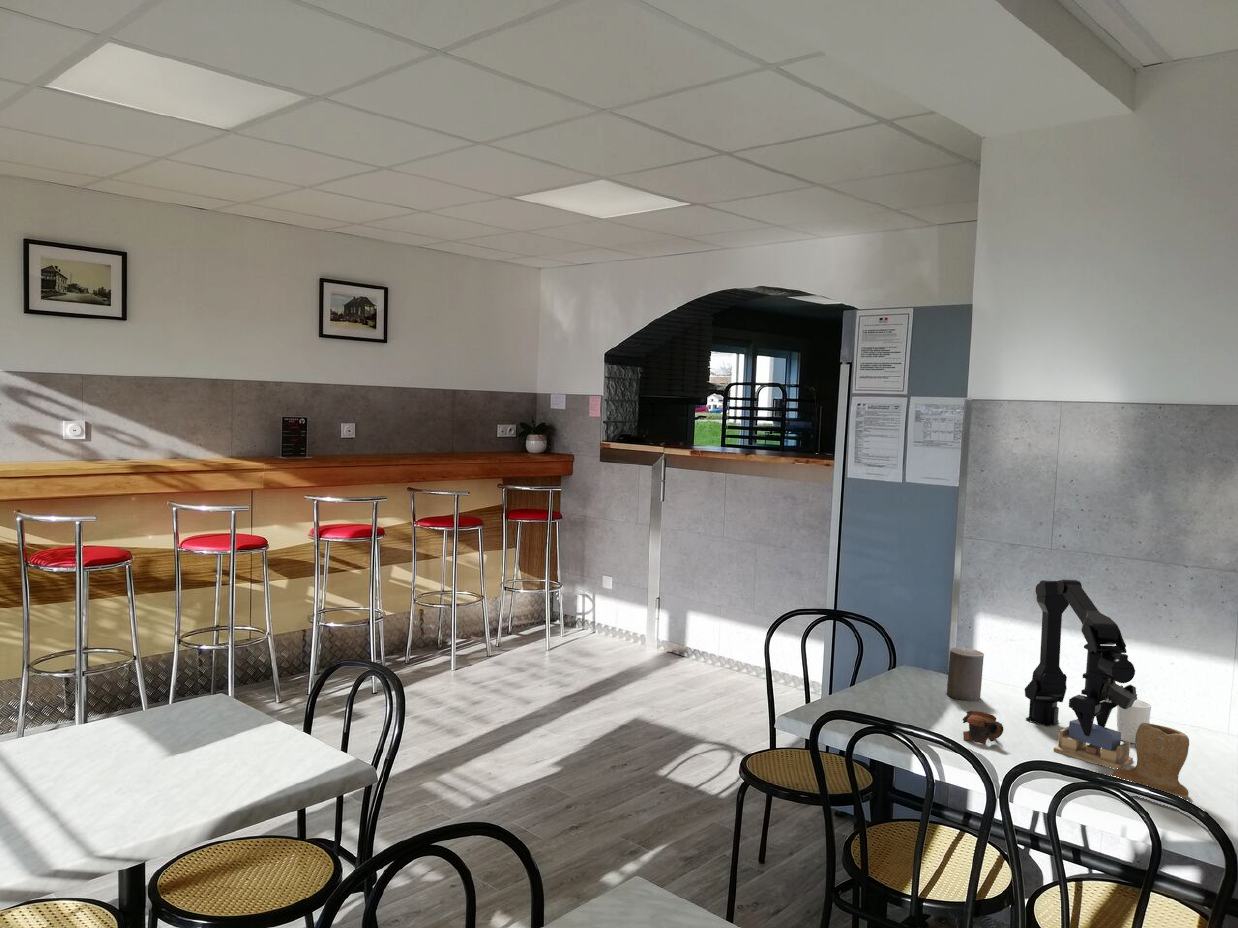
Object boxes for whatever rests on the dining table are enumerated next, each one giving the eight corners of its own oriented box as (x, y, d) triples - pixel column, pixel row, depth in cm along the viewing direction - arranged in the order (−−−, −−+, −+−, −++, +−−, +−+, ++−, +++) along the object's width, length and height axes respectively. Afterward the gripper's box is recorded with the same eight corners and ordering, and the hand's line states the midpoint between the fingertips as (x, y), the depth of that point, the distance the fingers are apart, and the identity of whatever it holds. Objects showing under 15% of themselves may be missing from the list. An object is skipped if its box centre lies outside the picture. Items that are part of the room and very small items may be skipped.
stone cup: (1190, 790, 212) (1195, 726, 211) (1186, 807, 202) (1191, 740, 201) (1116, 773, 221) (1121, 711, 220) (1108, 788, 211) (1113, 724, 210)
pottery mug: (951, 738, 242) (956, 707, 245) (974, 750, 246) (978, 719, 249) (991, 741, 232) (995, 709, 235) (1014, 753, 236) (1018, 721, 239)
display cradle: (1116, 769, 223) (1117, 749, 222) (1053, 750, 234) (1055, 731, 234) (1132, 760, 229) (1134, 741, 229) (1070, 742, 240) (1072, 724, 240)
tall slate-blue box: (1068, 736, 235) (1069, 721, 235) (1077, 734, 237) (1078, 718, 237) (1111, 750, 226) (1112, 734, 225) (1120, 748, 228) (1121, 732, 228)
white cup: (1153, 746, 241) (1156, 708, 240) (1120, 742, 242) (1123, 705, 241) (1142, 736, 248) (1145, 699, 248) (1110, 732, 250) (1113, 696, 249)
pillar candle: (941, 695, 277) (945, 646, 276) (953, 688, 285) (957, 641, 284) (973, 703, 271) (977, 653, 270) (985, 696, 279) (989, 647, 277)
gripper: (1118, 685, 218) (1113, 750, 219) (1148, 673, 230) (1143, 734, 231) (1070, 674, 226) (1065, 736, 227) (1101, 662, 239) (1097, 721, 240)
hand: (1094, 732), depth 231 cm, fingers open, 8 cm apart
